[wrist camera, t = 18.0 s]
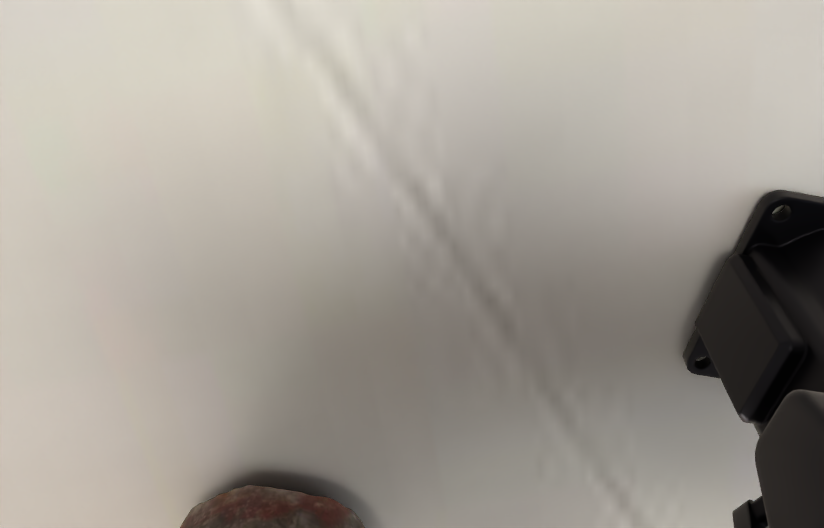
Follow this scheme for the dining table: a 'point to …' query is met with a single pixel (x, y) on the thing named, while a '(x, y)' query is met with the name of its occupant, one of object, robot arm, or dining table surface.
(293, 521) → the candle
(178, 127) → the dining table surface
